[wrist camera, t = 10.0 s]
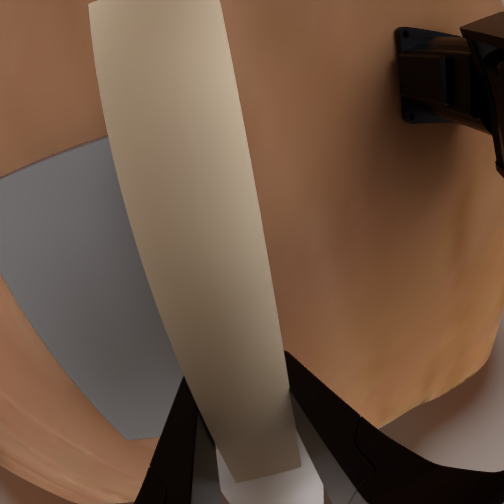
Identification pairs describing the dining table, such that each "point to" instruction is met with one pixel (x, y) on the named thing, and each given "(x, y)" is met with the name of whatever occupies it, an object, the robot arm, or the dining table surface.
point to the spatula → (202, 233)
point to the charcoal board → (88, 285)
